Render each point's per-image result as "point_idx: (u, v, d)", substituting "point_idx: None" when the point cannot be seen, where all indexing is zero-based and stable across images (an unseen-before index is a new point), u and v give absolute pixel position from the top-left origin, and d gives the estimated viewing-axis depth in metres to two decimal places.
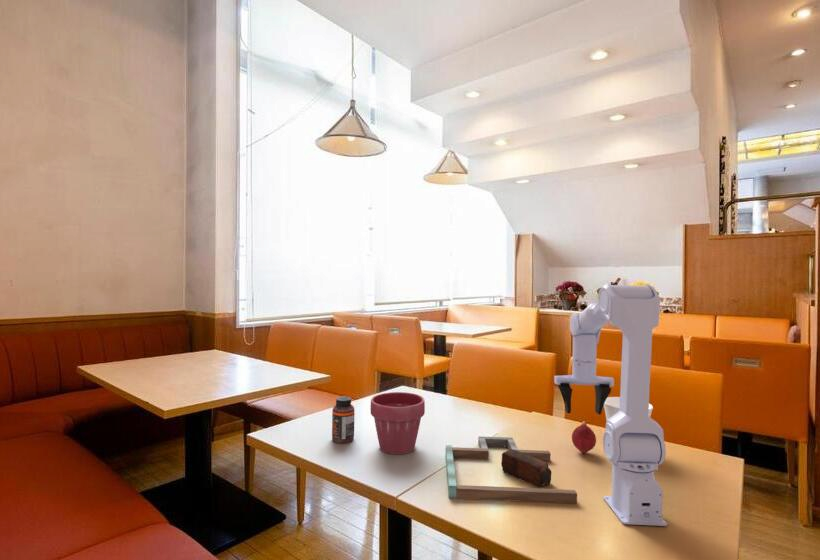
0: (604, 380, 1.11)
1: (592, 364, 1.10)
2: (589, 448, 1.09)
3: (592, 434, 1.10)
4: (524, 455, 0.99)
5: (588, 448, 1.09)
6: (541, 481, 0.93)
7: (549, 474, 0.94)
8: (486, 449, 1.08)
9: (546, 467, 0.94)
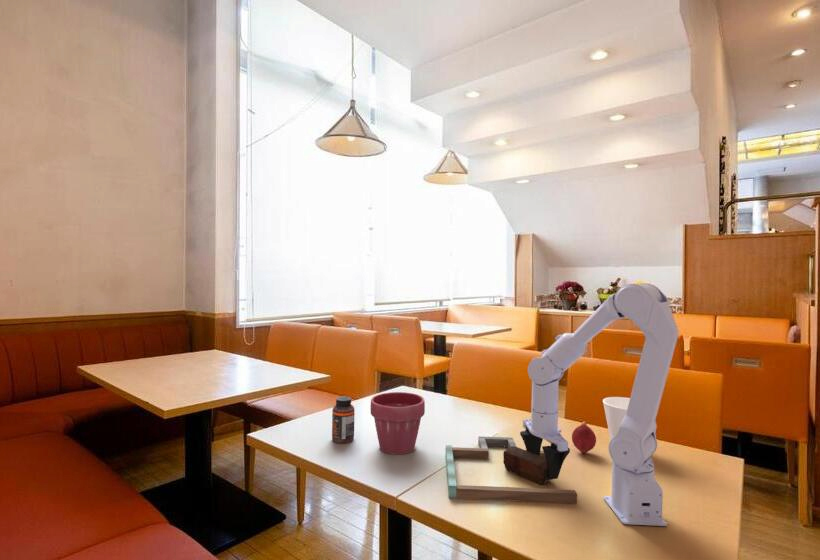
0: (550, 439, 0.92)
1: (536, 415, 0.95)
2: (589, 448, 1.09)
3: (592, 434, 1.10)
4: (525, 452, 0.99)
5: (588, 448, 1.09)
6: (544, 478, 0.93)
7: None
8: (486, 449, 1.08)
9: None
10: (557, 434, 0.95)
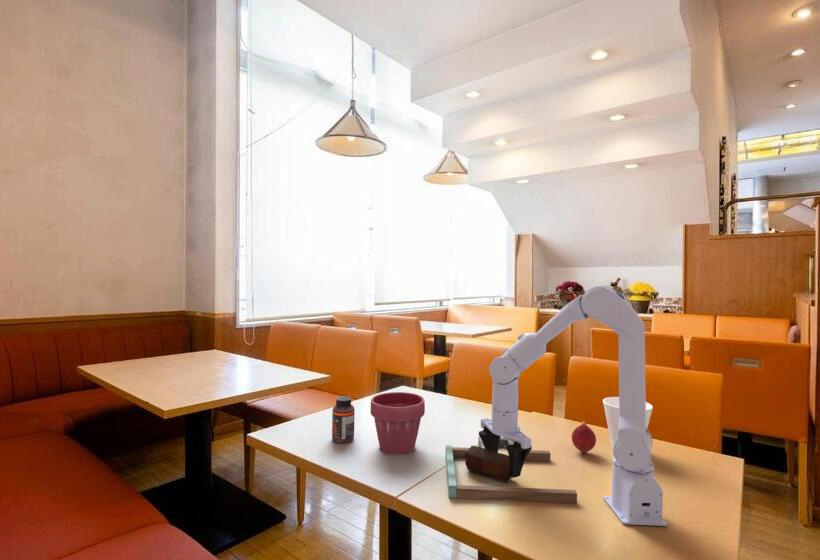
0: (513, 437, 0.93)
1: (498, 414, 0.95)
2: (589, 448, 1.09)
3: (592, 434, 1.10)
4: (486, 451, 0.99)
5: (588, 448, 1.09)
6: (508, 477, 0.94)
7: None
8: None
9: None
10: (518, 432, 0.96)
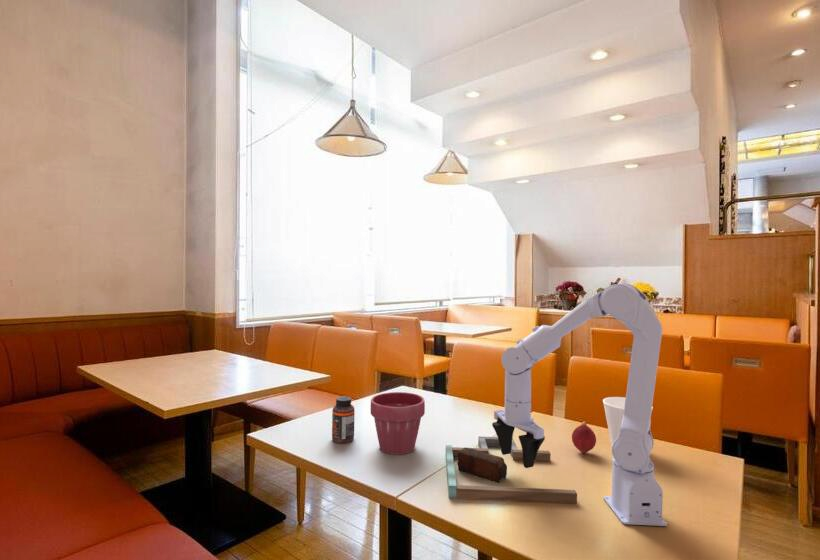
0: (526, 428, 0.93)
1: (511, 405, 0.95)
2: (589, 448, 1.09)
3: (592, 434, 1.10)
4: (479, 452, 1.00)
5: (588, 448, 1.09)
6: (500, 476, 0.94)
7: (505, 469, 0.97)
8: (486, 449, 1.08)
9: (503, 462, 0.96)
10: (531, 422, 0.96)
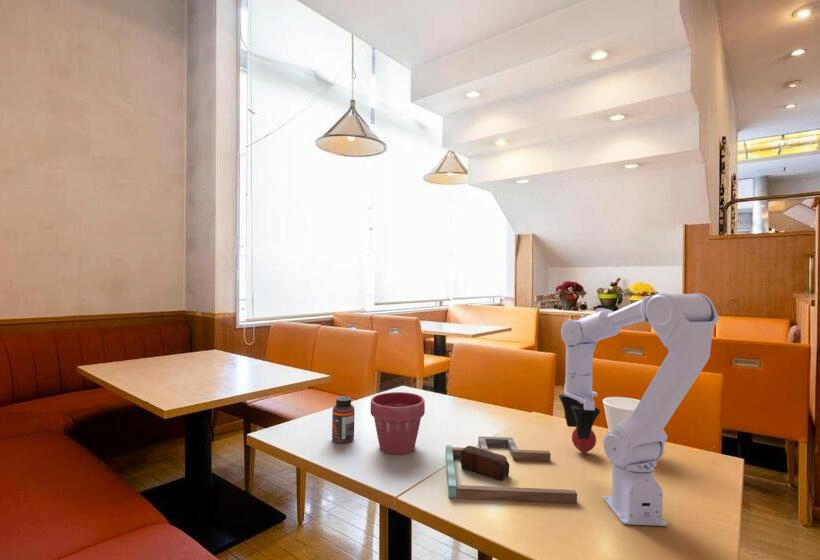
0: (578, 398, 0.94)
1: (568, 376, 0.98)
2: (589, 448, 1.09)
3: (592, 434, 1.10)
4: (482, 450, 1.01)
5: (588, 448, 1.09)
6: (502, 474, 0.95)
7: (508, 467, 0.98)
8: (486, 449, 1.08)
9: (505, 460, 0.97)
10: (589, 396, 0.96)
